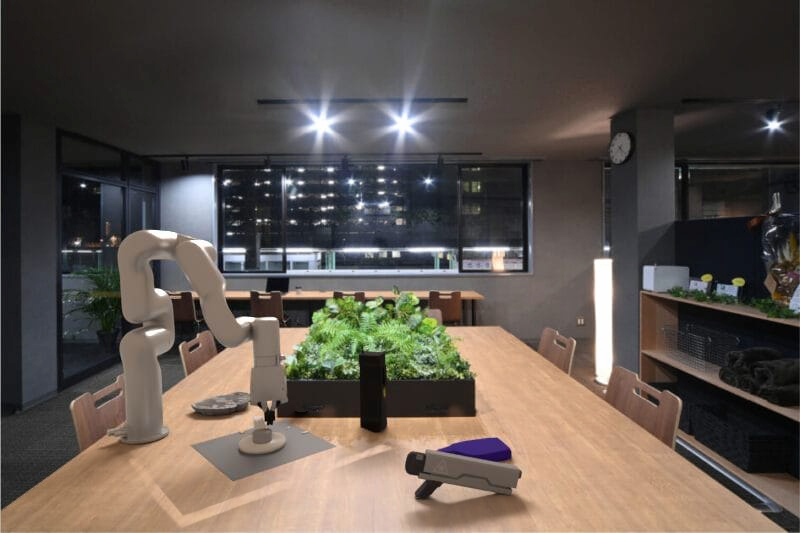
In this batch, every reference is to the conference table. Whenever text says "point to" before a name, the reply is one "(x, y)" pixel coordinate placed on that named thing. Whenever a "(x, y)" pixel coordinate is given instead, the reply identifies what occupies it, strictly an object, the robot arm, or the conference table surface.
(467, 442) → the purple faceted wedge
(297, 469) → the conference table surface
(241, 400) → the brain slice
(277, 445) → the dial rotor
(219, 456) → the dial plate
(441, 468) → the gun
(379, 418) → the black tall block
